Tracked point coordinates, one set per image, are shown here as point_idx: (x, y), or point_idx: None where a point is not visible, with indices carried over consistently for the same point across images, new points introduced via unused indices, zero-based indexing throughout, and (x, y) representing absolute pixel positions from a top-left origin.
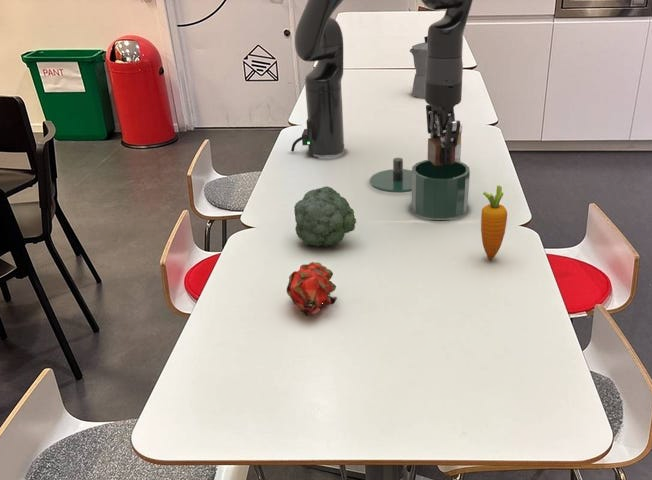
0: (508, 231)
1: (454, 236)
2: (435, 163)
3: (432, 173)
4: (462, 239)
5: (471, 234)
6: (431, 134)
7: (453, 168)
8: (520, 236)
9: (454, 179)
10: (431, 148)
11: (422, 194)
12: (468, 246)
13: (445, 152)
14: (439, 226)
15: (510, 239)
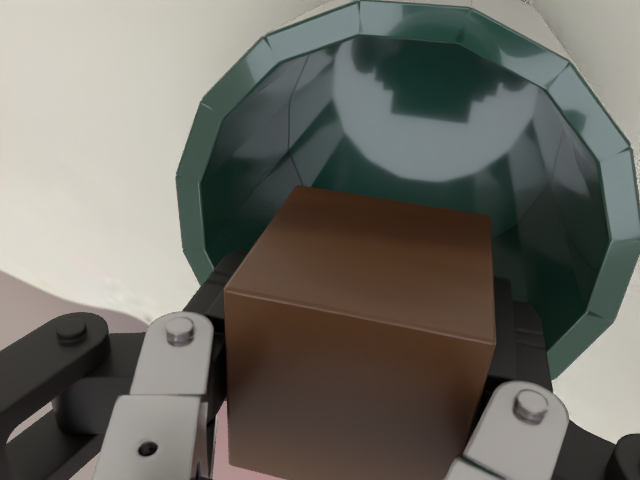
0: (113, 265)
1: (113, 49)
2: (290, 197)
3: (575, 236)
4: (79, 68)
5: (117, 129)
6: (532, 425)
7: None
8: (68, 275)
9: (182, 227)
10: (367, 266)
11: (317, 8)
12: (15, 58)
13: (186, 308)
14: (231, 35)
15: (52, 234)
